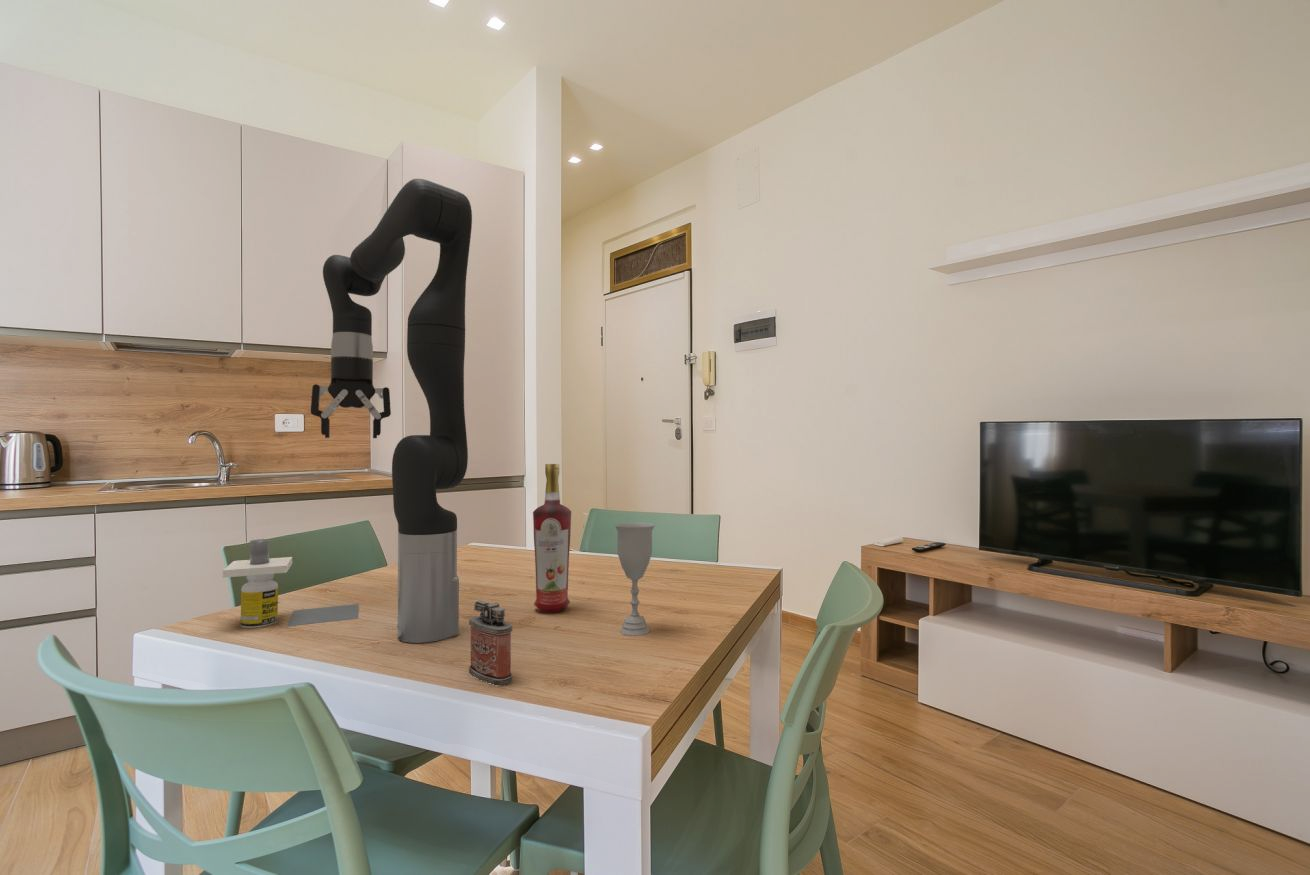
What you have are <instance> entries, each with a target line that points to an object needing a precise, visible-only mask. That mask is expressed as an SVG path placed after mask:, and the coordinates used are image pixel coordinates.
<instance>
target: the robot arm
mask: <svg viewBox="0 0 1310 875" xmlns="http://www.w3.org/2000/svg"><path fill="white" fill-rule="evenodd" d="M472 226H473V211H472V205H471V202H470V200H469V199H468V197H467V196H466V195H465V194H464V193H462V192H460V191H458V190H455V189H454V188H453V189H452V188H450V187H446V186H444V185H443V184H439V183H436V182H433V181H430V180H427V179H423V178H412V179H411V180H409V181H408V182H406V183H405V184H404V185H403V186H402V187H401V189H399V191H398V193H397V195H396V196H395V197H394V199H393V200H392V202H391V203H390V205H389V206H388V208H387V209H386V210H385V212H384V214H383V216H382V218H381V219H380V221H379V222H378V224H377V226H376V227H375V229H374V230H373V231H372V233H370V234H369V235H368V236H367V237H366V238H364V239H363V240H362V241H361V242H360V243H359V244H358V245H357V246H356V247H355V248H354V249H353V250H352V252H351V253H350V255H349V256H350V257H349V256H345V255H342V254H341V255H340V254H332V255H331V256H329V257H328V258H327V259H326V260H325V261H324V264H323V266H322V277H323V282H324V285H325V289H326V291H327V296H328V300H329V303H330V306H331V312H332V337H331V338H332V339H331V343H330V344H331V345H330V347H331V348H330V384H329V385H328V386H325V385H318V384H317V383H316V384H313V385H312V388H311V401H310V414H311V415H312V416H315V417H317V418H318V417H319V419H320V423H321V424H320V425H321V426H320V433H321V435H322V436H324V438H325V439H330V436H331V435H330V433H331V432H330V429H331V427H330V426H331V424H330V423H331V422H330V420H331V419H330V416H331V415H332V414H333V413H334V412H335V411H336V410H337V408H338V407H341V408H345V409H350V408H354V409H361V408H364V407H365V409H367V411H368V412H369V413H370V414H371V416H372V417H373V420H372V438H373V439H378V436H380V435H381V433H382V432H381V431H382V429H381V427H382V425H381V423H382V419H386V418H388V417H390V416H391V415H392V411H391V398H390V397H391V396H390V394H391V393H390V388H389V387H387V386H386V387H382V388H381V387H380V388H379V387H378V388H375V387H374V382H373V381H374V380H373V379H374V377H373V375H374V374H373V373H374V368H373V366H374V363H373V362H374V349H373V348H374V347H373V338H372V335H373V333H372V332H373V331H372V330H373V329H372V327H373V326H372V323H373V322H372V321H373V320H372V319H373V318H372V317H373V316H372V312H371V310H370V309H369V308H368V307H366V306H364V305H361V304H360V303H357V302H355V301H354V300H352V298H351V295H350V294H352V295H356V296H361V297H373V296H374V295H377V294H378V293H379V291H380V290H381V287H382V285H383V282H384V280H385V278H386V276H387V275H389V274H391V273H393V271H394V270H396V269H397V268H398V267H399V266H400V265H401V264H402V262H403V260H404V257H405V254H406V248H405V247H406V246H405V240H404V237H406V236H409V235H410V236H411V235H413V236H415V237H416V238H418V239H419V238H420V239H423V240H427V241H430V242H434V243H437V244H439V259H438V265H437V268H436V272H435V274H434V276H433V277H432V279H431V281H430V282H429V284H428V285H427V287H426V288H425V289H424V290H423V292H422V293H421V294H420V296H419V297H418V298H417V300H416V301H415V303H414V304H413V305H412V307H411V309H410V310H409V314H408V317H407V328H406V333H407V334H406V335H407V336H406V338H407V339H406V353H407V359H408V362H409V365H410V368H411V370H412V372H413V375H414V377H415V379H416V380H417V383H418V384H419V386H420V388H421V390H422V392H423V395H424V397H425V399H426V403H427V406H428V410H429V411H428V412H429V435H427V434H415V435H414V434H412V435H406V436H404V437H402V438H401V440H399V442H398V443H397V444H396V446H395V448H394V452H393V455H392V461H391V479H392V497H393V503H392V504H393V513H394V516H395V519H396V522H397V538H398V539H397V626H396V628H397V639H398V640H399V641H401V642H405V643H415V644H416V643H417V644H419V643H429V642H431V643H432V642H437V641H440V640H441V641H442V640H445V639H449V638H452V637H455V636H459V634H460V631H459V630H460V624H459V623H460V577H459V576H458V573H457V572H458V517H457V514H456V513H455V512H454V511H451V510H448V509H446V508H444V507H442V506H441V505H440V503H439V502H438V498H437V490H445V489H447V490H448V489H452V488H456V487H457V486H458V485H460V484H461V482H462V481H463V480H464V478H465V476H466V473H467V470H468V464H469V463H468V460H469V458H468V457H469V452H468V451H469V450H468V449H469V448H468V438H467V437H468V436H467V428H466V425H467V424H466V415H465V414H466V413H465V354H466V352H465V351H466V291H467V290H466V288H467V275H468V274H467V273H468V272H467V271H468V264H469V263H468V262H469V254H470V246H471V245H470V244H471V238H472ZM327 392H328V394H329V395H330V396H331V397H332V398H333V400H332V401H331V402H330V403H329V404H328V406H327V407H326V408H325V409H324V410H323V411H322V410H320V398H321V397H324V396H325V393H327ZM375 394H377V395H378V397H379V399H382V403H383V411H381V412H379V411H378V410H377V409H376V407H375V406H374V405H373V403H372V402H371V401H370V400H371V399H372V398H373V397H374V396H375Z"/></svg>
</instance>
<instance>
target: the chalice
mask: <svg viewBox="0 0 1310 875" xmlns="http://www.w3.org/2000/svg"><path fill="white" fill-rule="evenodd" d="M655 524H656V523H655ZM655 524H654V523H651V522H642V521H641V522H639V521H638V522H637V521H636V522H635V521H634V522H633V521H632V522H630V521H629V522H619V523H616V524H614V526H615V529H616V531H617V556H618V559H619V562H620V566H621V567H622V570H623V572H624V574H625V576H626V578H627V579H629V580H631V584H632V585H631V589H630V593H631V600H630V601H629V604H630V605H631V608H632V609H631V613H629V615H627V616H626V617H625V619H624V620H623V623H622V624H621V625H622V627H621V628H620V630H619V632H620V633H621V634H624V635H627V636H642V635H646V634H648V633H650V628H649V626H648V623H647V622H646V621H647V620H646V618H645V617H644V616H643V615H640V612H638V606H639V604H640V602H641V601H640V600H639V598H638V596H639V593H640V589H639V587H638V582H639V580H640V579H642V578H643V577H644V575H645V573H646V571H647V569H648V566H649V564H650V560H651V557H652V555H653V530H654V528H655Z"/></svg>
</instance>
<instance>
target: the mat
mask: <svg viewBox="0 0 1310 875" xmlns="http://www.w3.org/2000/svg"><path fill="white" fill-rule="evenodd" d="M359 608H360V604H359V603H354V604H344V605H335V606H334V605H333V606H323V607H314V608H306V609H304V608H303V609H294V610H292V612H291V615H290V617H289V620H288V622H287V624H286V627H287V628H288V627H296V626H305V625H313V624H322V623H330V622H338V621H339V622H340V621H341V622H342V621H347V620H358V619H359Z"/></svg>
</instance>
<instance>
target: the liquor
mask: <svg viewBox="0 0 1310 875" xmlns="http://www.w3.org/2000/svg"><path fill="white" fill-rule="evenodd" d="M544 465H545V467H544V468H545V478H546V483H545V491H544V492H545V494H544V504H542V505H540V506H537V508H535V509H534V510H533V511H532V522H533V524H532V525H533V543H534V544H533V546H534V563H535V564H534V565H535V594H536V595H535V598H536V599H535V601H534V602H533V605H534V606H535V607H536V608H537V609H538V610H539V612H541V613H544V614H545V613H547V614H553V613H560V612H563V611H564V610H565V608H567V607H568V606H569V604H570V603H571V601H570V599H569V596H568V594H569V566H570V564H569V563H570V562H569V561H570V550H571V549H570V548H571V547H570V546H571V532H572V531H571V530H572V527H571V526H572V511H571V509H570V508H569V507H567V506H565V505H563V504H561V497H560V488H559V487H560V484H559V479H560V478H559V476H560V464H559V463H546V464H544Z"/></svg>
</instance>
